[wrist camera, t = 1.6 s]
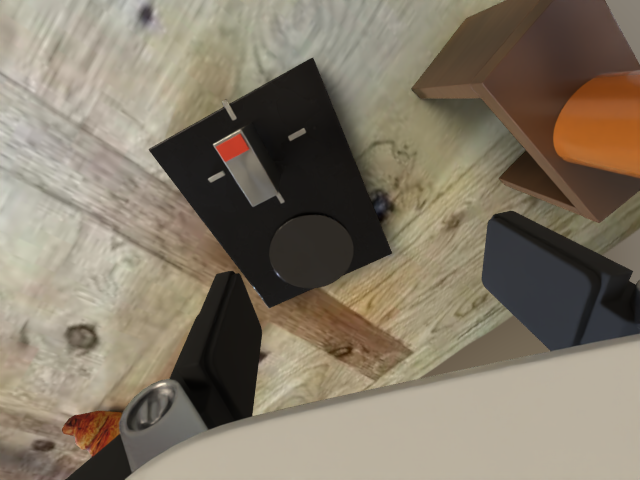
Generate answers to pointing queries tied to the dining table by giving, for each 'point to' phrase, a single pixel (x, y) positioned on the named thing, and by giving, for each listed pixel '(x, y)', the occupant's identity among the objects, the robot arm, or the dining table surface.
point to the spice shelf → (538, 89)
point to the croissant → (93, 429)
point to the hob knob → (250, 164)
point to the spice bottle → (602, 124)
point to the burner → (311, 250)
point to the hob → (295, 183)
